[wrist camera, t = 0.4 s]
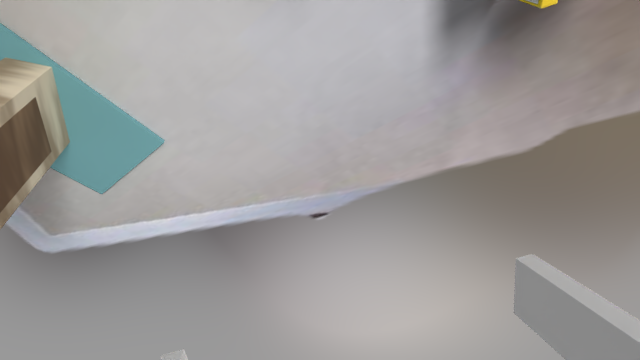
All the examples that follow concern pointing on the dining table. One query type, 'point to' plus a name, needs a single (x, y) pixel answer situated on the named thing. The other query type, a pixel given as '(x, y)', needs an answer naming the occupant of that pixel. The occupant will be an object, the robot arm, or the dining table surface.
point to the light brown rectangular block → (27, 130)
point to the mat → (88, 125)
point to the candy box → (540, 3)
